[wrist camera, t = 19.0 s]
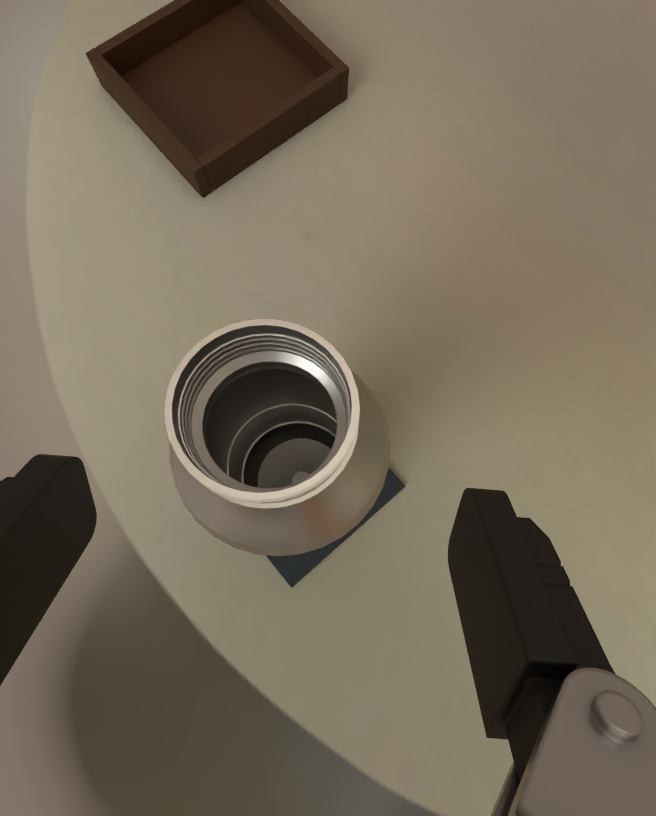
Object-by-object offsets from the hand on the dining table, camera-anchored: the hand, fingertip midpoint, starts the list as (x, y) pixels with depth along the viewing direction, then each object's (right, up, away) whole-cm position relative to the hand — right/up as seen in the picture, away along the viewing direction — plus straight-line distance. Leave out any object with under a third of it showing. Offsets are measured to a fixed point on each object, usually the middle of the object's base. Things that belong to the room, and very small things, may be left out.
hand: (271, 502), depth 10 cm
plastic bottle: (0, -2, +18) cm, 19 cm away
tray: (-7, +26, +25) cm, 37 cm away
